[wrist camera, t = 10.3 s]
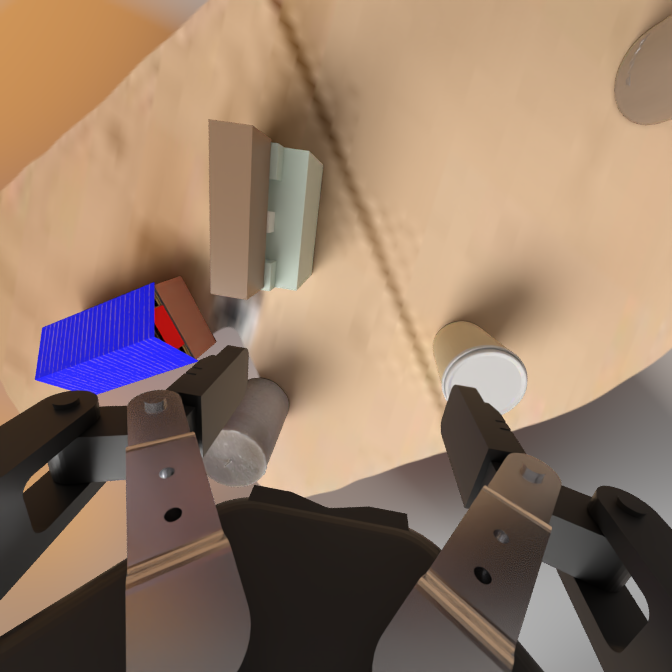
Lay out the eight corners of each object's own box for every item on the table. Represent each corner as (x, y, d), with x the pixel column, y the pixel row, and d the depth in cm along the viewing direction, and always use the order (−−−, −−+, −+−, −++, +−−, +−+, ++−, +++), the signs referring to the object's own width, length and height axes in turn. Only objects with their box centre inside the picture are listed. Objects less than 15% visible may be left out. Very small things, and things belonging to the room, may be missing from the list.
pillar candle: (233, 420, 56) (190, 488, 42) (234, 372, 53) (187, 430, 39) (287, 429, 56) (261, 501, 42) (292, 381, 52) (265, 444, 38)
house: (81, 313, 52) (5, 340, 41) (182, 272, 48) (127, 290, 37) (122, 375, 56) (62, 415, 45) (219, 343, 51) (179, 378, 40)
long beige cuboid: (271, 139, 29) (252, 125, 24) (263, 287, 34) (246, 299, 30) (234, 133, 29) (208, 119, 25) (231, 282, 34) (210, 293, 30)
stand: (323, 165, 40) (305, 147, 29) (311, 274, 45) (292, 294, 34) (246, 153, 41) (199, 132, 29) (243, 263, 46) (202, 280, 35)
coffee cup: (436, 380, 50) (456, 429, 38) (418, 328, 47) (433, 364, 36) (498, 362, 47) (538, 408, 36) (483, 306, 45) (520, 337, 33)
